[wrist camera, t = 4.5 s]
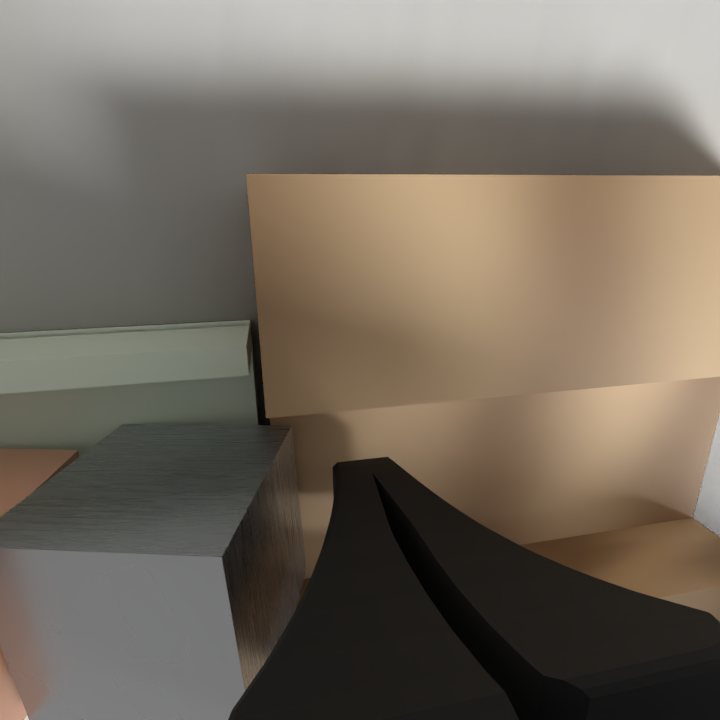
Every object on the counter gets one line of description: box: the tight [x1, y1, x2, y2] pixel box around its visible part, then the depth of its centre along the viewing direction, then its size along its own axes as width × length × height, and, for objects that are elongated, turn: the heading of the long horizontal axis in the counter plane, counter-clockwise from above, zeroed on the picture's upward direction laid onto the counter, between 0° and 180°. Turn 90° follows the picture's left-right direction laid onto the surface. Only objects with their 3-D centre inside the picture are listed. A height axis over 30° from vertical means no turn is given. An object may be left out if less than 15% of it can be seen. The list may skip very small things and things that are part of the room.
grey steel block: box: [0, 424, 306, 720], centre depth 9 cm, size 4×4×4 cm
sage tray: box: [0, 320, 259, 457], centre depth 10 cm, size 9×8×2 cm
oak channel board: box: [246, 174, 720, 621], centre depth 12 cm, size 13×14×4 cm
